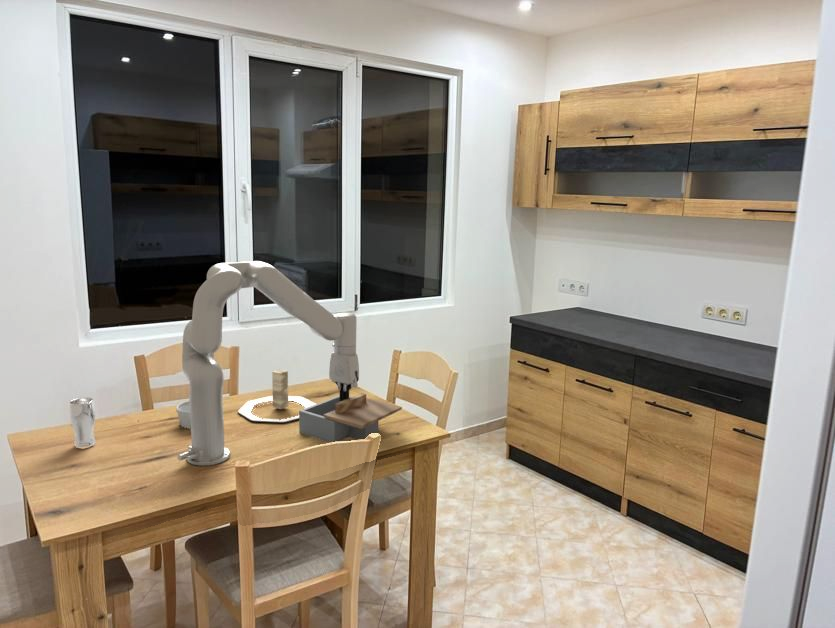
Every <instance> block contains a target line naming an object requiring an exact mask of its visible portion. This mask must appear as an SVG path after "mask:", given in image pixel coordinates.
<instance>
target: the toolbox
mask: <svg viewBox="0 0 835 628" xmlns="http://www.w3.org/2000/svg"><path fill="white" fill-rule="evenodd" d="M351 397H352V396H350V395H349V398H351ZM338 402H341V401H340V394H339V395H336V396H334V397H331V398H329V399H326V400H324V401H322V402H318V403H316V404H315V405H313V406H310V407H308V408H305V409H304V408H303V409H300V410H299V411H298V415H299V419H298V420H299V421H298V422H299V434H301V433H302V435H304V434H306V435H305V436H307V435H309V436H308V437H310V436H311V438H313V437H314V439H316V438H317V440H319V439H320V441H323V442H326V443H329V442H335V441H341V442H343V441H344V440H346V439H353V440H356V441H358V440H357V439H365V438H366V437H367V436H368V435H369V434H371V433H378V434H379V421H377V422H375V423H372V424H370V425H368V426H366V427H364V428H362V429H360V428H357V427H354V426H350V425H347V424H344V423H341V422H337V421H334V420H331V419H327V418H324V414H326V413H329V412H331V411H333V410H335V404H336V403H338Z"/></svg>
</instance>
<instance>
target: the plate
mask: <svg viewBox="0 0 835 628" xmlns="http://www.w3.org/2000/svg"><path fill="white" fill-rule="evenodd" d="M268 401H273V395H269V396H264V397H260V398H256V399H251V400H248V401H246V402H245V403H244V404H243V406H241V407H240V408H239V409H238V410H237V411H238V414H240V415H242V417H244V418H246V419H247V420H249V421H250V422H253V423H254V422H259V423H276V424H280V423H281V424H282V423H288V422H293V421H297V420H299V414H297V415H298V416H297V415H295V417H293V416H290V417H291V418H289V417H286V418H287V419H285V418H280V419H281V420H279V418H263V419H262V417H260V416H258V415H256V414H255V415H256V416H255V415H253V414H254V413H253V412H252V413H253V414H252V413H251V411H252V409H253V407H254V405H256V404H258V403H262V402H268ZM288 401H294V402H297V403H299V404H301V405H302V406H301V405H300V406H301V407H303V406H304V407H305V408H308V407H310V406H313V405H315V404H317V403H316V402H314V401H312V400H310V399H308V398H306V397H304V396H299V395H295V396H294V395H288ZM294 402H293V403H294ZM297 403H296V404H297ZM299 404H298V405H299ZM304 407H303V409H305V408H304ZM257 416H258V417H257ZM259 417H260V418H259Z"/></svg>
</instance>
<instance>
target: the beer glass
mask: <svg viewBox="0 0 835 628" xmlns="http://www.w3.org/2000/svg"><path fill="white" fill-rule="evenodd" d="M69 418H70V423H71V426H72V430H73V434H74V445H75V446H76V447H89V446H92V445H94V444H95V443H96V444H97V442H96V441H97V440H96V439H95V424H96V423H95V422H96V409H95V402H94V399H93V398H92V397H87V396H86V397H78V398H73V399H72V400H70V401H69Z"/></svg>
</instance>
